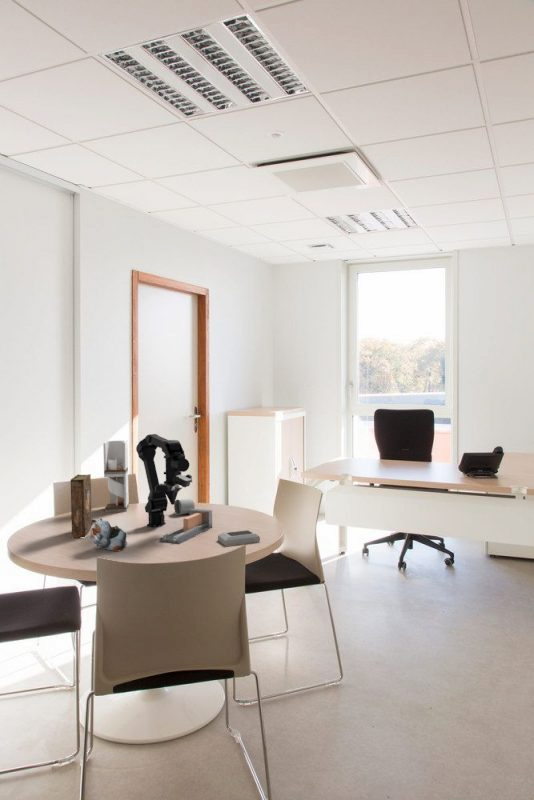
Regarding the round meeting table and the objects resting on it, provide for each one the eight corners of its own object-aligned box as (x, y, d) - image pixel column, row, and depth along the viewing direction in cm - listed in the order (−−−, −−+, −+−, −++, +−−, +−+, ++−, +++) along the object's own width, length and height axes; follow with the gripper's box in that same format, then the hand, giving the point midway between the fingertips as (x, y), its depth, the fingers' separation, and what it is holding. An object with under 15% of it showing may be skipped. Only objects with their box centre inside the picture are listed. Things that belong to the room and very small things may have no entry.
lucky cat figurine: (126, 551, 246) (109, 523, 241) (98, 563, 246) (81, 536, 242) (130, 531, 260) (114, 504, 255) (103, 543, 260) (87, 516, 256)
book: (84, 538, 268) (83, 479, 267) (71, 538, 267) (69, 480, 266) (91, 528, 284) (90, 473, 283) (79, 529, 284) (78, 474, 283)
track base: (159, 541, 261) (158, 522, 261) (192, 525, 287) (192, 508, 287) (180, 543, 257) (179, 524, 257) (212, 527, 283) (212, 510, 283)
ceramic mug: (195, 513, 312) (195, 498, 312) (181, 516, 307) (180, 500, 307) (185, 510, 320) (184, 495, 320) (170, 513, 316) (170, 497, 315)
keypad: (217, 532, 262) (251, 528, 267) (217, 541, 262) (251, 537, 267) (225, 538, 253) (259, 533, 258) (225, 547, 253) (260, 542, 259)
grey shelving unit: (108, 507, 330) (106, 440, 329) (128, 506, 331) (127, 440, 330) (104, 512, 319) (103, 443, 317) (126, 511, 320) (124, 442, 319)
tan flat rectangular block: (183, 532, 272) (183, 518, 271) (197, 526, 283) (197, 512, 282) (188, 532, 271) (188, 518, 271) (202, 526, 282) (201, 513, 282)
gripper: (176, 473, 264) (177, 510, 265) (198, 467, 282) (199, 501, 282) (154, 472, 269) (155, 508, 269) (177, 465, 286) (177, 500, 287)
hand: (172, 504), depth 277 cm, fingers closed
